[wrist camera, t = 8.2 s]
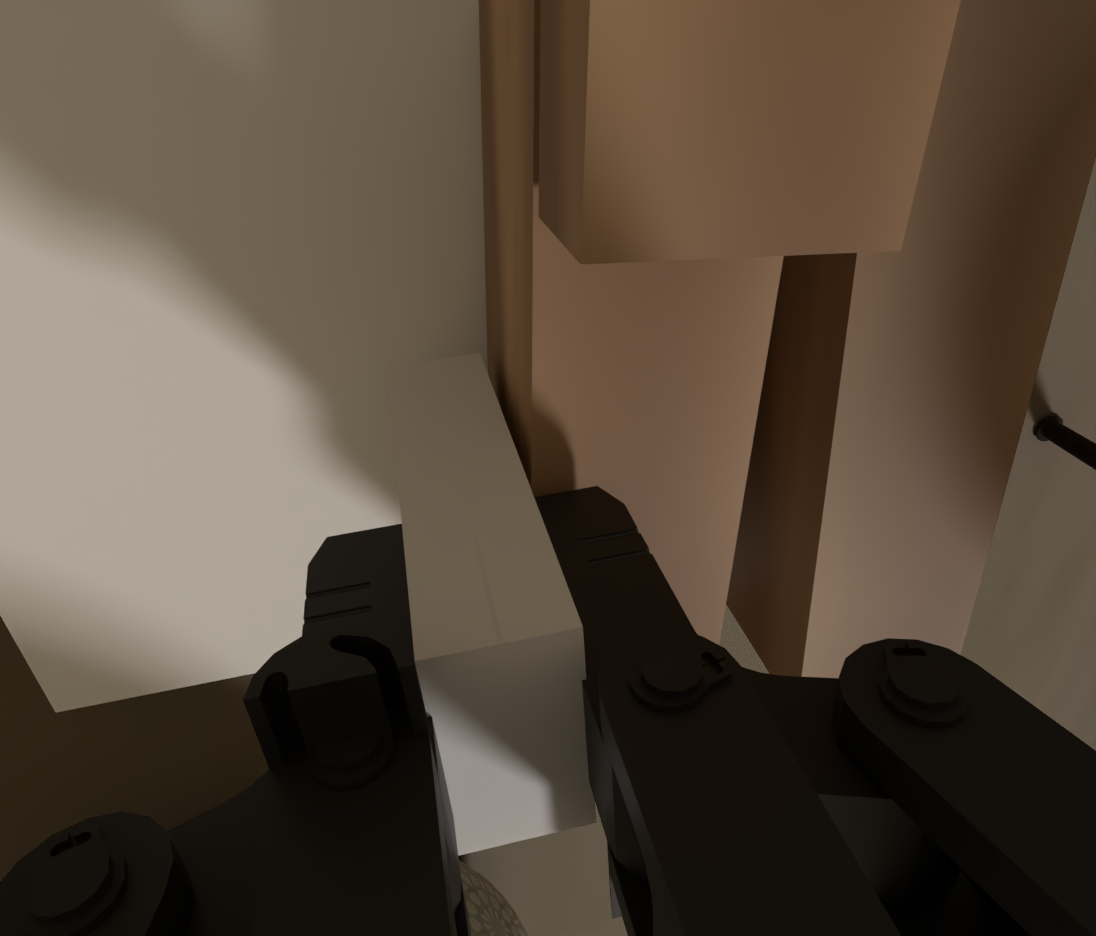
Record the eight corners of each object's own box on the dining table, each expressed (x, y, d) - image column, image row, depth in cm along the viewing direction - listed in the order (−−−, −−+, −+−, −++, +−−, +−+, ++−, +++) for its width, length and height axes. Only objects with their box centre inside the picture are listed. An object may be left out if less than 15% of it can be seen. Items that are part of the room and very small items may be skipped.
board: (74, 669, 17) (55, 712, 16) (-507, -423, 8) (-628, -484, 7) (821, 526, 19) (847, 555, 18) (947, -433, 11) (1009, -479, 10)
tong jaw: (493, 598, 16) (561, 891, 11) (464, -558, 8) (661, -1608, 3) (829, 557, 17) (1037, 798, 12) (1074, -465, 10) (1967, -1058, 4)
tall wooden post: (671, 538, 18) (808, 766, 13) (680, -356, 10) (1037, -760, 5) (816, 510, 19) (1008, 719, 13) (925, -360, 11) (1493, -735, 5)
